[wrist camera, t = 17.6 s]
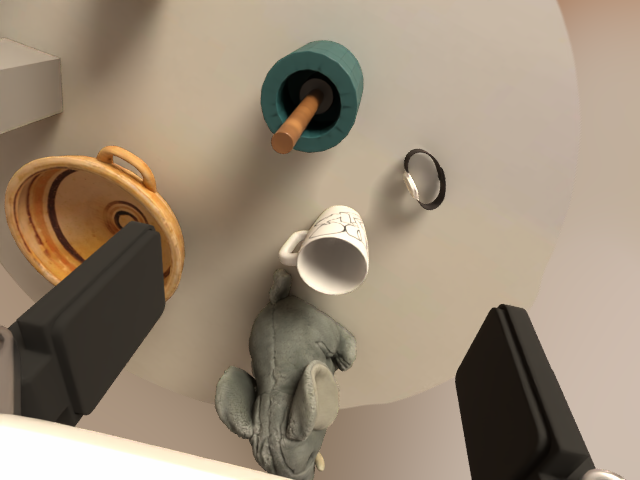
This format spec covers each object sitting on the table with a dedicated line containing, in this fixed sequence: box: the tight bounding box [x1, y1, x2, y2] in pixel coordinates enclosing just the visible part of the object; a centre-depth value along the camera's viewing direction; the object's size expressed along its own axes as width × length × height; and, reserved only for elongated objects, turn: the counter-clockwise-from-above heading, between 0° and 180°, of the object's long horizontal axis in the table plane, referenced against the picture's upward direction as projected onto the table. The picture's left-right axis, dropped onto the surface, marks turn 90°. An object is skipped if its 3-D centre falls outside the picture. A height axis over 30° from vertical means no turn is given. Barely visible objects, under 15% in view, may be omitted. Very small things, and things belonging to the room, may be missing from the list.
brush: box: [271, 71, 338, 154], centre depth 36 cm, size 4×4×20 cm
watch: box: [403, 149, 446, 210], centre depth 47 cm, size 8×5×4 cm, turn 25°
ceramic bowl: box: [5, 146, 185, 302], centre depth 55 cm, size 30×24×8 cm
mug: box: [279, 206, 369, 295], centre depth 50 cm, size 11×8×10 cm
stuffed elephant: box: [215, 269, 356, 480], centre depth 54 cm, size 19×21×27 cm
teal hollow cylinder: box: [261, 40, 363, 153], centre depth 40 cm, size 9×9×10 cm
